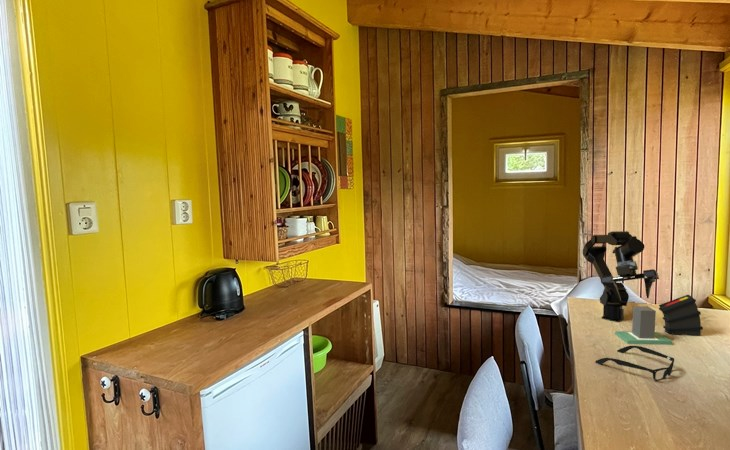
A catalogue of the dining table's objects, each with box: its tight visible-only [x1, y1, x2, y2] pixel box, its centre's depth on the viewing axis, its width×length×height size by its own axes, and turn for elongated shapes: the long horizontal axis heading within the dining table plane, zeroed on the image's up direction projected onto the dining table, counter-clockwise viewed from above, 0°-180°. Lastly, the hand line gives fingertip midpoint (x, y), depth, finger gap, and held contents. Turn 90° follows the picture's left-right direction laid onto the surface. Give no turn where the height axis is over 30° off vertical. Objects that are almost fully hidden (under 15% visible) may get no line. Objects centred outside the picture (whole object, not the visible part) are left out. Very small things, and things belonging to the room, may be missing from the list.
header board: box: [614, 330, 674, 346], centre depth 148 cm, size 9×15×5 cm, turn 83°
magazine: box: [658, 294, 704, 337], centre depth 151 cm, size 4×13×15 cm, turn 78°
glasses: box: [594, 345, 675, 382], centre depth 127 cm, size 16×18×5 cm
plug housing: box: [631, 305, 657, 339], centre depth 147 cm, size 5×5×10 cm
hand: (633, 299), depth 154 cm, fingers open, 9 cm apart
